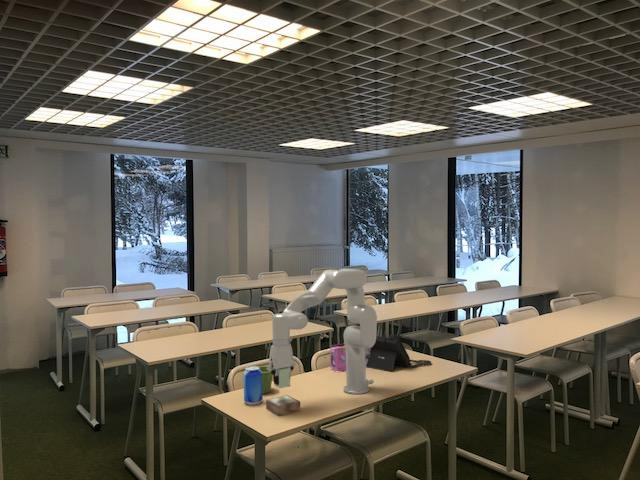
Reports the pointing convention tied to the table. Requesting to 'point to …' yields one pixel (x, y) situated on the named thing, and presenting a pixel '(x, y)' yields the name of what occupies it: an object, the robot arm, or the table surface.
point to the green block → (283, 378)
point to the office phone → (390, 354)
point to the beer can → (252, 385)
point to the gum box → (341, 357)
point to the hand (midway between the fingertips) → (282, 382)
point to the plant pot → (266, 379)
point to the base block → (283, 405)
